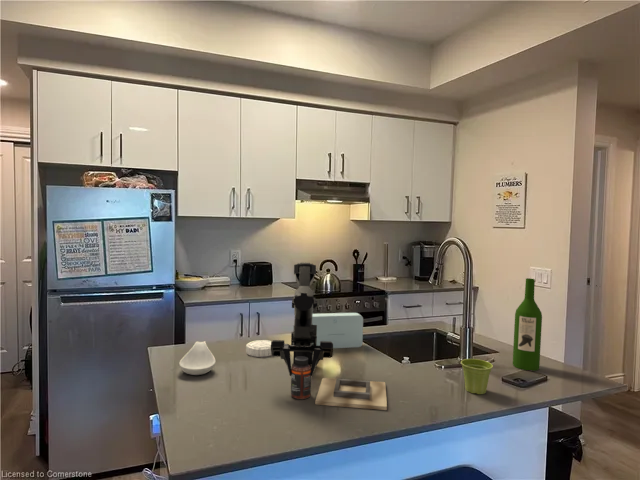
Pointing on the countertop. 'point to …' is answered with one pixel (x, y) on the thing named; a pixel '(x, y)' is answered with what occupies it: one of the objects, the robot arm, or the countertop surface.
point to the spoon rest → (197, 360)
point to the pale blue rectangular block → (339, 329)
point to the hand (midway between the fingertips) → (300, 375)
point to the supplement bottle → (301, 378)
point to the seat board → (352, 393)
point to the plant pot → (476, 375)
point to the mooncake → (259, 348)
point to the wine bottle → (527, 331)
